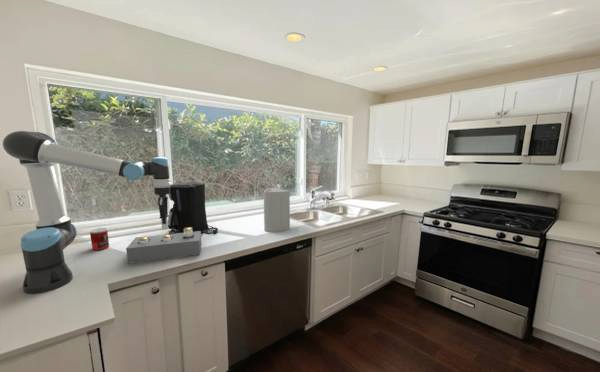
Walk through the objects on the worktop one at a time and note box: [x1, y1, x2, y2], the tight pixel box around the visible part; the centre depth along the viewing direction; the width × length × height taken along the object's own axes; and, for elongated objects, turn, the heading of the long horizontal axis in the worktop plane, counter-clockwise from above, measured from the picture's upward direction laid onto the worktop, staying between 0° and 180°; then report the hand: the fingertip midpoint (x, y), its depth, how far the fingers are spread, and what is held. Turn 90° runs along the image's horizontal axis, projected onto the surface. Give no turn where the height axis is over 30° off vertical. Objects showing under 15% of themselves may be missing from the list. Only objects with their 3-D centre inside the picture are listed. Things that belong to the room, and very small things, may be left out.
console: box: [125, 231, 202, 264], centre depth 138 cm, size 16×34×8 cm, turn 108°
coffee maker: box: [167, 181, 218, 235], centre depth 172 cm, size 23×32×34 cm
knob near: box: [139, 235, 149, 243], centre depth 134 cm, size 4×4×8 cm
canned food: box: [89, 227, 110, 252], centre depth 144 cm, size 8×8×11 cm
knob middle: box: [162, 233, 172, 241], centre depth 138 cm, size 4×4×8 cm
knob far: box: [184, 227, 193, 239], centre depth 141 cm, size 4×4×8 cm
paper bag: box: [263, 187, 291, 233], centre depth 176 cm, size 19×15×28 cm
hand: (165, 229), depth 136 cm, fingers closed
